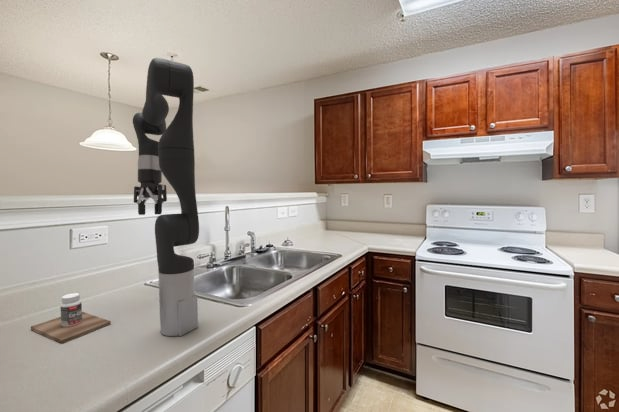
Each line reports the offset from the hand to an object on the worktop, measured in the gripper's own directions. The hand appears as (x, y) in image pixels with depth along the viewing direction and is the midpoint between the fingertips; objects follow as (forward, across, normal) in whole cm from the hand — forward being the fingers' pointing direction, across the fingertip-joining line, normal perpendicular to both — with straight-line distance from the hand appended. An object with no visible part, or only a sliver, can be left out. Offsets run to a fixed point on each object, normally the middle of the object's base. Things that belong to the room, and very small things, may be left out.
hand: (149, 214), depth 102 cm
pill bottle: (+32, -5, -21) cm, 39 cm away
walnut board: (+33, -5, -21) cm, 39 cm away
